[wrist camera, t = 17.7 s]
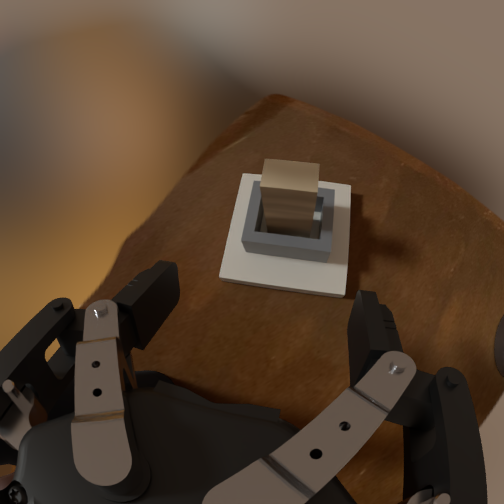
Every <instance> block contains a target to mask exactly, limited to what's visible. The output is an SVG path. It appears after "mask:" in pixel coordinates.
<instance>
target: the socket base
mask: <svg viewBox="0 0 504 504" xmlns="http://www.w3.org/2000/svg"><path fill="white" fill-rule="evenodd" d="M261 177H262V175H257V174H244V173H243V175H242V179H241V184H240V188H239V192H238V196H237V200H236V204H235V209H234V213H233V217H232V221H231V226H230V230H229V234H228V239H227V243H226V247H225V252H224V256H223V261H222V265H221V270H220V275H219V278H220V279H221V280H222V281H226V282H232V283H239V284H245V285H251V286H258V287H265V288H272V289H279V290H286V291H293V292H300V293H307V294H315V295H323V296H331V297H339V298H342V297H343V296H344V295H345V289H346V279H347V266H348V252H349V234H350V203H351V185H345V184H338V183H331V182H323V181H318V193H317V199H316V205H315V211H314V217H313V223H312V228H311V234H310V238H304V237H296V236H288V235H280V234H272V233H268V232H267V226H266V220H265V214H264V208H263V202H262V197H261V191H260V182H261Z"/></svg>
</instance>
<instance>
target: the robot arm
mask: <svg viewBox="0 0 504 504" xmlns="http://www.w3.org/2000/svg"><path fill="white" fill-rule="evenodd" d="M179 297H180V288H179V279H178V269H177V265H176V263H174V262H169V261H163V260H159V261H158V262H157V263H156V264H155V265H154V266H153V267H152V268H151V269H147V270H145V271H143V272H141V273H139V274H138V275H137V276H136V277H135V278H134V279H133V281H130V282H129V283H128V285H126V286H125V287H124V288H123V289H122V290H121V291H120V292H119V293H118V294H117V295H116V296H115V297H114V298H113V299H112V300H99V301H96V302H94V303H92V304H91V305H89V306H88V307H87V309H86V310H85V309H74V307H73V304H72V302H71V300H70V299H68V298H57V299H54V300H52V301H51V302H50V303H48V304H47V305H46V306H45V307H44V308H43V309H42V310H41V311H40V312H39V313H38V314H37V315H36V316H34V317H33V318H32V319H31V320H30V321H29V322H28V323H27V324H26V325H25V326H24V327H23V328H22V329H21V330H20V332H18V333H17V334H16V335H15V336H14V338H13V339H11V341H10V342H9V343H8V344H7V345H6V346H5V347H4V348H3V349H2V350H1V351H0V438H1V439H3V440H4V441H5V442H6V443H7V444H8V445H9V446H10V447H12V448H13V449H15V450H18V459H17V465H16V470H15V473H14V477H13V479H12V481H11V483H10V484H9V485H8V486H7V487H6V488H4V489H3V490H0V504H357V503H356V502H355V500H354V499H353V498H352V497H351V495H350V494H349V493H348V491H347V490H346V489H345V488H344V486H343V485H342V484H341V482H340V481H339V480H338V478H337V477H336V474H337V473H338V472H339V471H340V470H341V469H342V468H343V467H344V466H345V465H346V464H347V463H348V462H349V461H350V459H351V458H352V457H353V456H354V455H355V454H356V453H357V452H358V451H359V450H360V448H361V447H362V446H363V445H364V444H365V443H366V441H367V440H368V439H369V438H370V437H371V435H372V434H373V433H374V432H375V431H376V429H377V428H378V427H379V425H380V424H381V423H382V422H383V420H386V421H390V422H393V423H396V424H400V425H403V438H404V484H403V501H401V502H399V503H398V504H487V484H486V473H485V465H484V457H483V450H482V444H481V438H480V433H479V428H478V423H477V419H476V414H475V410H474V406H473V402H472V399H471V395H470V391H469V388H468V384H467V381H466V379H465V377H464V375H463V374H462V373H461V372H460V371H458V370H457V369H455V368H451V367H444V368H441V369H440V370H439V371H438V372H437V374H436V375H432V374H429V373H425V372H422V371H419V370H417V369H416V365H415V363H414V361H413V360H412V359H411V358H410V357H409V356H408V355H406V354H404V353H403V350H402V346H401V342H400V338H399V335H398V331H397V330H396V325H395V323H394V318H393V315H392V312H391V311H390V310H389V309H388V308H387V306H386V305H382V304H379V302H378V298H377V295H376V292H372V291H364V290H358V292H357V294H356V298H355V301H354V304H353V308H352V311H351V315H350V318H349V322H348V329H347V335H348V349H349V366H350V386H349V387H348V388H347V389H346V390H345V391H344V392H343V393H342V394H341V395H340V396H339V397H338V398H337V399H336V400H334V401H333V402H332V403H331V404H330V405H329V406H328V407H327V408H326V409H325V410H324V411H323V412H321V413H320V414H319V415H318V416H317V417H316V418H315V419H314V420H312V421H311V422H310V423H309V424H308V425H307V426H305V427H304V428H303V429H302V430H300V429H299V428H297V427H296V426H294V425H293V424H291V423H289V422H287V421H285V420H283V419H280V418H279V414H280V409H274V408H268V407H262V406H257V405H252V404H218V403H213V402H210V401H208V400H206V399H204V398H203V397H201V396H199V395H197V394H195V393H193V392H191V391H190V390H188V389H186V388H183V387H179V386H176V385H173V384H170V383H166V382H163V381H160V380H159V381H158V383H157V385H156V386H155V388H151V387H145V388H138V387H137V382H136V376H135V371H134V365H133V359H132V354H131V350H132V348H133V347H135V348H138V349H141V350H144V349H145V347H146V346H147V344H148V343H149V342H150V340H151V339H152V338H153V336H154V335H155V333H156V332H157V331H158V329H159V328H160V327H161V325H162V324H163V322H164V321H165V320H166V318H167V317H168V316H169V314H170V313H171V312H172V310H173V309H174V308H175V306H176V305H177V303H178V301H179ZM56 338H57V340H58V342H59V344H60V348H59V349H58V350H57V351H56V352H55V354H54V355H53V356H52V357H51V358H50V360H49V361H48V362H46V360H45V351H46V349H47V348H48V346H50V344H51V343H52V342H53V341H54V340H55V339H56ZM494 351H495V361H496V365H497V368H498V370H499V372H500V374H501V375H502V376H503V377H504V316H503V317H502V319H501V321H500V323H499V326H498V329H497V332H496V338H495V348H494ZM74 376H75V412H72V413H70V414H67V415H64V416H61V417H58V418H55V419H53V420H50V421H47V417H48V416H47V415H48V414H49V412H50V411H51V409H52V408H53V406H54V405H55V403H56V402H57V400H58V399H59V397H60V396H61V395H62V393H63V392H64V390H65V389H66V388H67V386H68V385H69V383H70V382H71V381H72V379H73V378H74Z"/></svg>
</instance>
